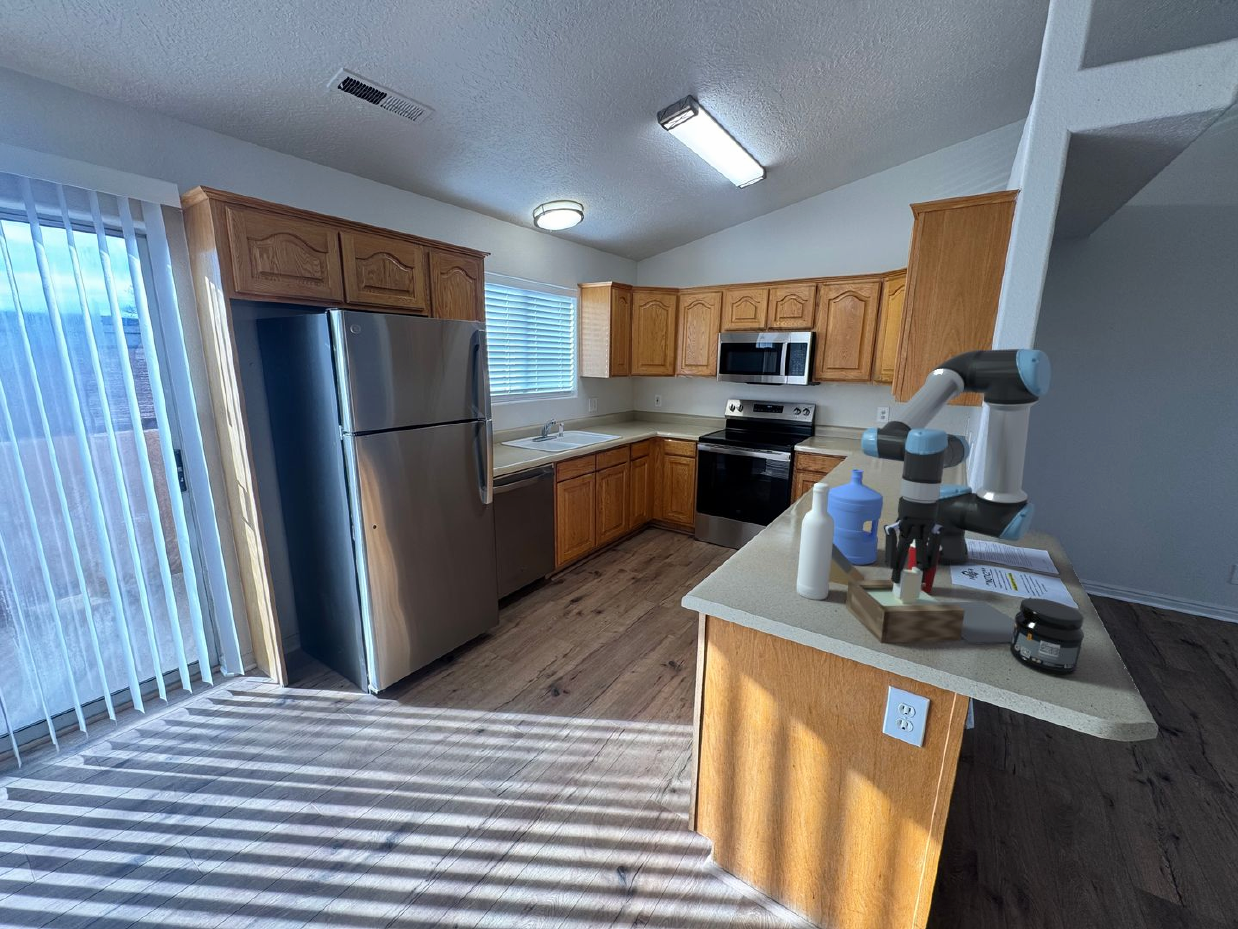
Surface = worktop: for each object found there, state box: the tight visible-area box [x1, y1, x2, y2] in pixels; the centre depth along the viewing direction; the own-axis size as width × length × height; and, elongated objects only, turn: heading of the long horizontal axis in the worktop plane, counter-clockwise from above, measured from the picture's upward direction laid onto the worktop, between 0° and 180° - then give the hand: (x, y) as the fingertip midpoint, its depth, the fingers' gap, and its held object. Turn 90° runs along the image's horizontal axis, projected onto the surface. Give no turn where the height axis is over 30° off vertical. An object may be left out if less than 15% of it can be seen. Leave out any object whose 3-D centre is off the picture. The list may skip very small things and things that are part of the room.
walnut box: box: [845, 579, 965, 643], centre depth 114 cm, size 18×15×7 cm
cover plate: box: [864, 569, 942, 606], centre depth 113 cm, size 15×13×8 cm
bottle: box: [796, 482, 834, 601], centre depth 127 cm, size 8×8×30 cm
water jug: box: [827, 469, 884, 566], centre depth 152 cm, size 16×16×28 cm
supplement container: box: [1009, 597, 1085, 677], centre depth 99 cm, size 10×10×12 cm
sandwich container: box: [829, 543, 865, 586], centre depth 138 cm, size 9×15×15 cm, turn 60°
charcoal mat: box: [938, 601, 1015, 645], centre depth 115 cm, size 18×18×1 cm
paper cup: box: [907, 538, 942, 595], centre depth 131 cm, size 8×8×14 cm
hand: (905, 595), depth 113 cm, fingers closed on cover plate, 3 cm apart
